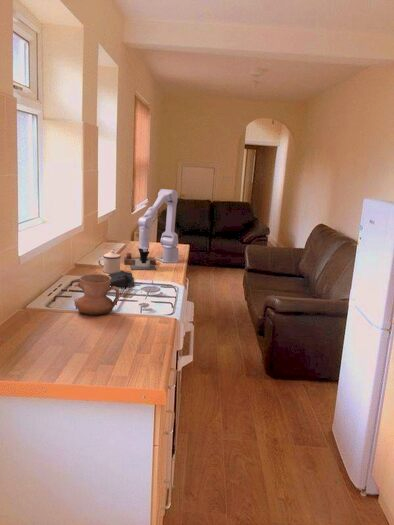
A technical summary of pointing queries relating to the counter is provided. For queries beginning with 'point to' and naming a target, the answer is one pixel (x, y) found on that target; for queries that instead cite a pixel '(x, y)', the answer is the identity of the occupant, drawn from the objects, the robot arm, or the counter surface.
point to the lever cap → (142, 265)
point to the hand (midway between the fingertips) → (143, 262)
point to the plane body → (131, 260)
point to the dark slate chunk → (121, 279)
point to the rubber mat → (152, 267)
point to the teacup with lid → (111, 262)
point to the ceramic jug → (95, 294)
